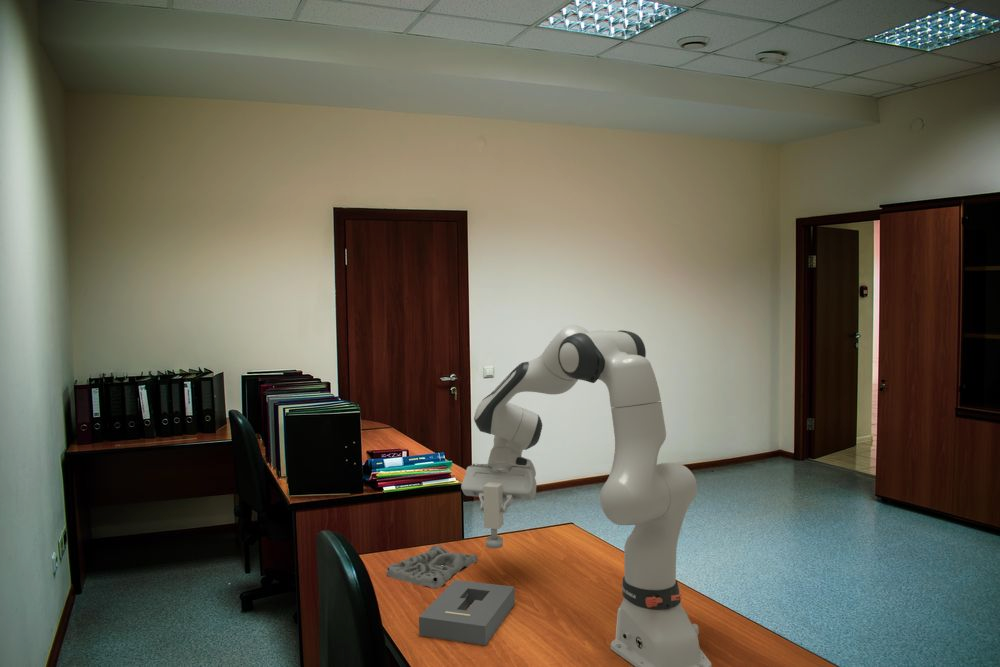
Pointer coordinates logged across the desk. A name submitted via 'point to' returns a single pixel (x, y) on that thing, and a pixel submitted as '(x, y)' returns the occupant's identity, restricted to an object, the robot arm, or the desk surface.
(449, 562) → the wall plaque
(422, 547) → the desk surface
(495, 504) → the post
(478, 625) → the keyhole plate
